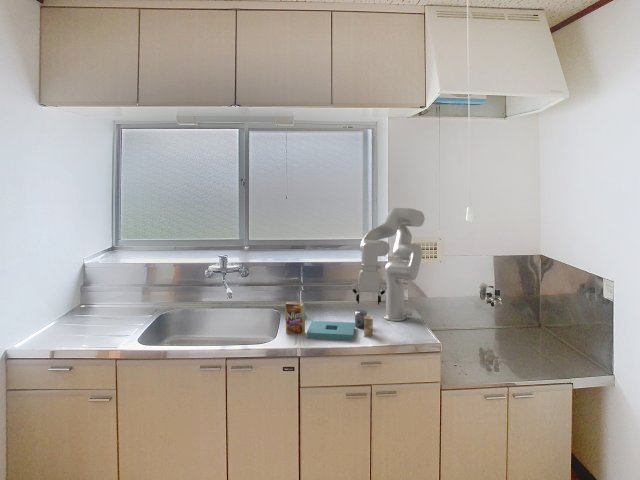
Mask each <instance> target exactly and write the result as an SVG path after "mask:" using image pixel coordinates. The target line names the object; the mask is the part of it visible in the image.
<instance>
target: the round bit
mask: <svg viewBox="0 0 640 480" xmlns="http://www.w3.org/2000/svg"><path fill="white" fill-rule="evenodd" d="M365 316H368V311H367V310H365V309H356V310H355V311H354V323H355V328H356V329H360V330H362V329H364V318H365Z"/></svg>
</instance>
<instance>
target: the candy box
mask: <svg viewBox="0 0 640 480" xmlns="http://www.w3.org/2000/svg"><path fill="white" fill-rule="evenodd" d="M285 333H286V334H293V335H300V336H303V335H304V334H305V333H306V303H304V302H296V301H286V303H285Z"/></svg>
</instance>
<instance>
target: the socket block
mask: <svg viewBox="0 0 640 480" xmlns="http://www.w3.org/2000/svg"><path fill="white" fill-rule="evenodd" d="M355 328H356V327H355V322H347V321H346V322H345V321H325V320H324V321H323V320H311V322H310V325H309V326H308V329H307V331H306V339H310V340H325V341H326V340H327V341H344V342H345V341H347V342H354V337H355Z"/></svg>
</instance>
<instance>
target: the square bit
mask: <svg viewBox="0 0 640 480" xmlns="http://www.w3.org/2000/svg"><path fill="white" fill-rule="evenodd" d="M373 330H374V316H373V315H367V316H365V318H364V330H363V331H364V332H363V335H364V338H365V337H367V338H368V337H369V338H374V337H373V336H374V335H373V333H374V331H373Z"/></svg>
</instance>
